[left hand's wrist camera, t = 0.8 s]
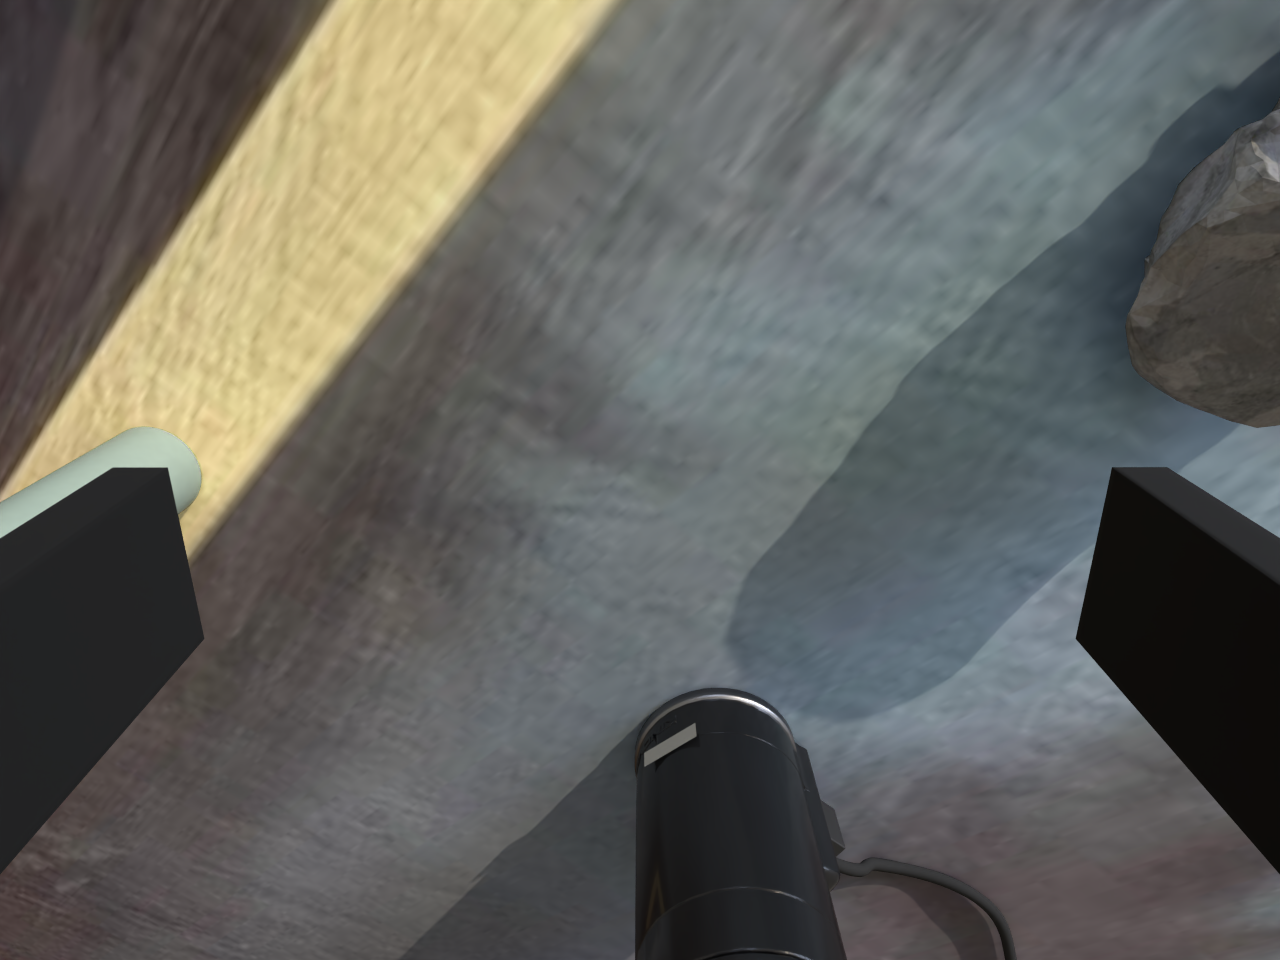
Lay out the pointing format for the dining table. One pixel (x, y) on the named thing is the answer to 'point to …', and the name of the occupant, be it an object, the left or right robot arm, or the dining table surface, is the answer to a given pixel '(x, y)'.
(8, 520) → the bottle
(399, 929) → the dining table surface
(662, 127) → the dining table surface
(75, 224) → the dining table surface
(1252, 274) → the decorative stone
